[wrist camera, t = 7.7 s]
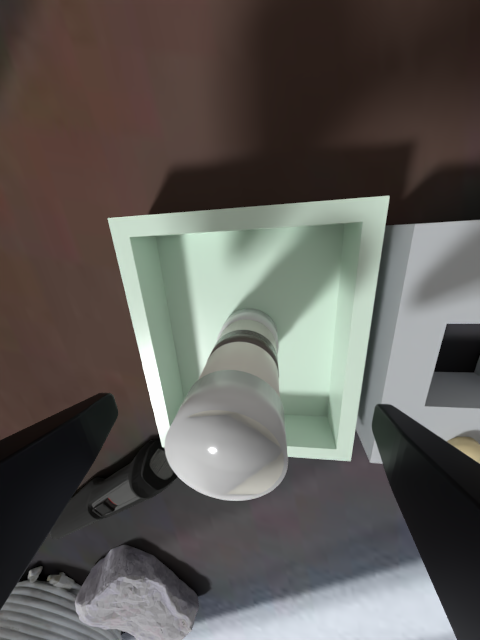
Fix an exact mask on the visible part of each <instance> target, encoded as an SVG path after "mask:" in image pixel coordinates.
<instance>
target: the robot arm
mask: <svg viewBox="0 0 480 640" xmlns="http://www.w3.org/2000/svg"><path fill="white" fill-rule="evenodd" d="M117 416H118V409H117V406H116V402H115V399H114V396H113V395H112V394H111V393H99V394H97V395H95V396H93V397H90V398H88V399H86V400H84V401H82V402H80V403H78V404H76V405H74V406H72V407H69V408H67V409H65V410H63V411H61V412H59V413H57V414H55V415H53V416H51V417H48V418H46V419H44V420H42V421H40V422H38V423H36V424H34V425H32V426H30V427H27V428H25V429H23V430H21V431H19V432H17V433H15V434H13V435H11V436H9V437H6V438H4V439H2V440H0V610H1V609H2V607H3V605H4V604H5V602H6V601H7V599H8V598H9V596H10V594H11V593H12V591H13V590H14V588H15V586H16V585H17V583H18V582H19V580H20V578H21V577H22V575H23V574H24V572H25V571H26V569H27V567H28V566H29V564H30V563H31V561H32V559H33V558H34V556H35V555H36V553H37V551H38V550H39V548H40V547H41V545H42V544H43V542H44V540H45V539H46V537H47V536H48V534H49V532H50V531H51V529H52V528H53V526H54V524H55V523H56V521H57V520H58V518H59V517H60V515H61V513H62V512H63V510H64V509H65V507H66V505H67V504H68V502H69V501H70V499H71V497H72V496H73V494H74V493H75V491H76V490H77V488H78V486H79V485H80V483H81V482H82V480H83V478H84V477H85V475H86V474H87V472H88V470H89V469H90V467H91V466H92V464H93V462H94V461H95V459H96V457H97V455H98V453H99V452H100V450H101V448H102V446H103V444H104V442H105V440H106V438H107V436H108V434H109V432H110V430H111V429H112V427H113V425H114V423H115V421H116V419H117ZM372 432H373V435H374V438H375V441H376V444H377V447H378V451H379V454H380V457H381V460H382V463H383V466H384V469H385V472H386V475H387V478H388V481H389V484H390V486H391V489H392V491H393V494H394V496H395V498H396V501H397V503H398V505H399V508H400V510H401V512H402V514H403V517H404V519H405V521H406V524H407V526H408V528H409V530H410V533H411V535H412V537H413V540H414V542H415V544H416V546H417V549H418V551H419V553H420V556H421V558H422V560H423V563H424V565H425V567H426V569H427V572H428V574H429V576H430V579H431V581H432V583H433V585H434V588H435V590H436V592H437V595H438V597H439V599H440V602H441V604H442V606H443V608H444V611H445V613H446V615H447V618H448V620H449V622H450V624H451V627H452V629H453V631H454V634H455V636H456V638H457V640H480V463H478V462H477V461H475V460H474V459H472V458H471V457H469V456H468V455H466V454H465V453H463V452H462V451H460V450H459V449H457V448H456V447H454V446H453V445H451V444H450V443H448V442H447V441H445V440H444V439H442V438H441V437H439V436H438V435H436V434H435V433H433V432H432V431H430V430H429V429H427V428H426V427H424V426H423V425H421V424H420V423H418V422H417V421H415V420H414V419H412V418H411V417H409V416H408V415H406V414H405V413H403V412H402V411H400V410H399V409H397V408H396V407H394V406H393V405H391V404H376V406H375V408H374V414H373V419H372Z"/></svg>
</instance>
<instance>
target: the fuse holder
mask: <svg viewBox="0 0 480 640" xmlns="http://www.w3.org/2000/svg"><path fill="white" fill-rule="evenodd" d="M477 323H480V220H467V221H451V222H435V223H419V224H403V225H388V226H385V232H384V239H383V245H382V252H381V259H380V266H379V272H378V279H377V286H376V293H375V300H374V306H373V313H372V320H371V327H370V333H369V340H368V347H367V354H366V361H365V367H364V374H363V381H362V388H361V394H360V401H359V408H358V415H357V422H356V430H357V433H358V435H359V437H360V440H361V442H362V445H363V447H364V449H365V452H366V454H367V456H368V459H369V461H370V463H382V460H381V457H380V454H379V451H378V447H377V444H376V441H375V438H374V435H373V432H372V419H373V414H374V408H375V406H376V404H391V405H393V406H394V407H396V408H397V409H399V410H400V411H402V412H403V413H405V414H406V415H408V416H409V417H411V418H412V419H414V420H415V421H417V422H418V423H420V424H421V425H423V426H424V427H426V428H427V429H429V430H430V431H432V432H433V433H435V434H436V435H438V436H439V437H441V438H442V439H444V440H445V441H447V442H448V443H450V444H451V445H453V446H454V447H456V448H457V449H459V450H460V451H462V452H463V453H465V454H466V455H468V456H469V457H471V458H472V459H474V460H475V461H477V462H478V463H480V357H479V360H478V362H477V365H476V368H475V371H474V373H470V372H434V369H435V365H436V361H437V358H438V354H439V350H440V347H441V343H442V339H443V336H444V332H445V328H446V324H477ZM382 464H383V463H382Z"/></svg>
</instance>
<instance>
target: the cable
mask: <svg viewBox="0 0 480 640" xmlns="http://www.w3.org/2000/svg"><path fill="white" fill-rule="evenodd" d="M41 571H42V566H40V567H37V568H34V569H32V570H30V571H29V574H28V580H27V581H22V582H19V583H17V585H16V586H15V588H14V590H13V591H12V593H11V594H10V596H9V598H8V599H7V601H6V602H5V604H4V605H3V607H2V609H1V610H0V640H122V637H121V630H118V629H107V630H104V629H102V628H100V627H93V626H89V625H87V624H85V623H83V622H82V621H80V620H79V615H78V614H77V612H76V607H75V601H76V597H77V594H78V593H79V591H80V589H81V587H82V586H80V585H79V584H77V583H75V580H73V579H71V578H69V577H68V576H65V573H63V572H62V573H60V574H59V575H49V576H48V577H47V581H49V582H45V581H38V580H37V578H38V576H39V574H40V573H41Z"/></svg>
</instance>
